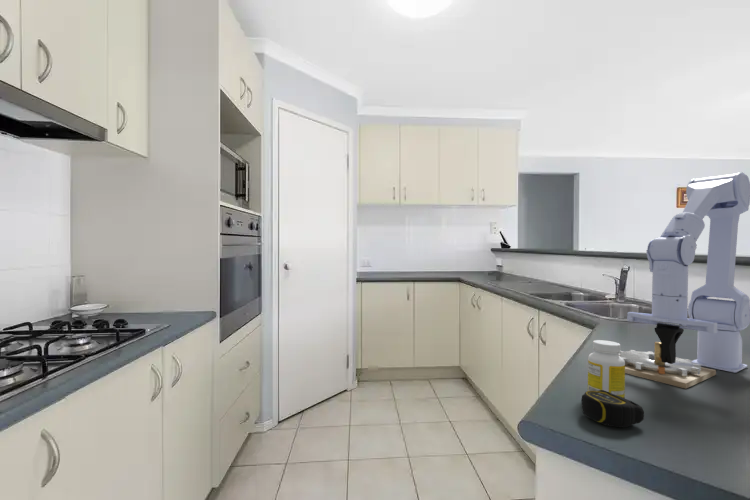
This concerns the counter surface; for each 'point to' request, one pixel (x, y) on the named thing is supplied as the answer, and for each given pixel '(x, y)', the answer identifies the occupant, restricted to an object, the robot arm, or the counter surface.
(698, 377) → the sprocket base
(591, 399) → the tape measure
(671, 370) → the sprocket
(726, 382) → the counter surface
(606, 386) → the supplement bottle
